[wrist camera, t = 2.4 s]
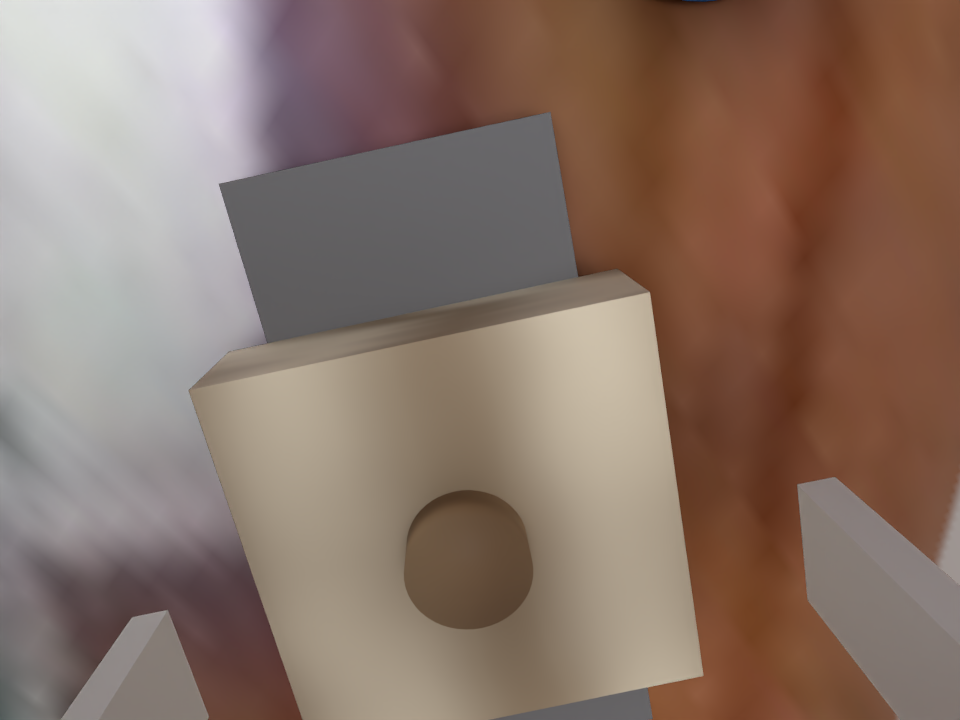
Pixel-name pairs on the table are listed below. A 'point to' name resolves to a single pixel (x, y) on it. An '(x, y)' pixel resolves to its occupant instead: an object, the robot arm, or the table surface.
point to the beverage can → (699, 0)
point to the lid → (461, 504)
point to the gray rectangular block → (412, 250)
